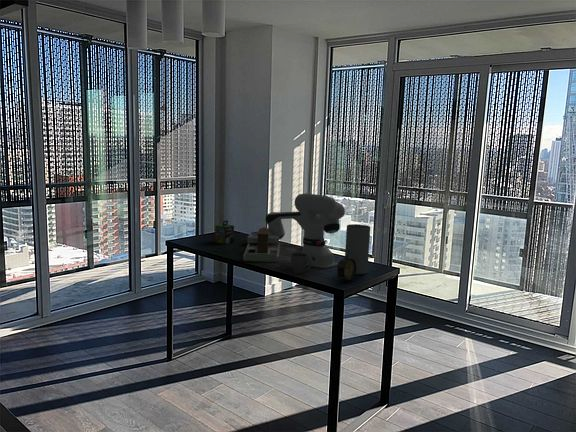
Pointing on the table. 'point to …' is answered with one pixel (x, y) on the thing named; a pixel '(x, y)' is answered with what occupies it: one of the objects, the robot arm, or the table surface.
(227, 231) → the chalk box
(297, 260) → the mug
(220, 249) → the table surface
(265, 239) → the walnut block
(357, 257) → the cylinder vase
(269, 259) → the box
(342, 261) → the alarm clock
